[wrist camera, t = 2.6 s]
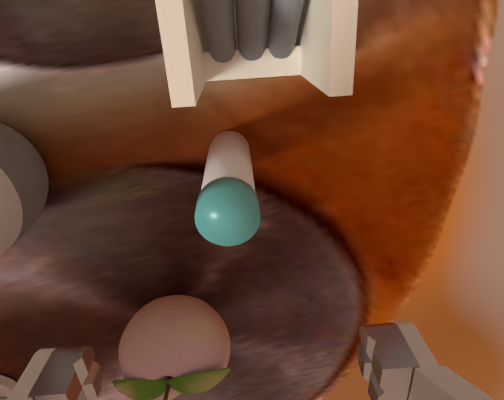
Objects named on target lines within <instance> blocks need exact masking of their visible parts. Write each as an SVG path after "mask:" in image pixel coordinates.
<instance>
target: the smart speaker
mask: <svg viewBox="0 0 504 400" xmlns="http://www.w3.org/2000/svg"><path fill="white" fill-rule="evenodd" d="M48 189H49V180H48V174H47V170H46V167H45V164H44V162H43V160H42V158H41V156H40V154H39V153H38V151H37V150H36V149H35V147H34V146H33V145H32V144H31V143H30V142H29V141H28V140H27V139H26V138H25V137H24V136H22V135H21V134H20V133H18V132H17V131H15V130H14V129H12V128H10V127H8V126H6V125H4V124H2V123H0V255H1V254H2V253H3V252H5V251H6V250H7V249H8V248H9V247H11V246H12V245H13V244H14V243H15V242H16V241H17V240H18V239H19V238H20V237H21V236H22V235H23V234H25V233H26V231H27V230H28V229H29V228H30V227H31V226H32V225H33V224H34V222H35V221H36V220H37V218H38V217H39V215H40V214H41V212H42V210H43V208H44V205H45V203H46V200H47V196H48Z"/></svg>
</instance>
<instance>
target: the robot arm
mask: <svg viewBox="0 0 504 400" xmlns="http://www.w3.org/2000/svg"><path fill="white" fill-rule="evenodd" d="M359 335H360V338H361V340H362V342H361V343H360V344H359V345H358V361H359V366H360V370H361V373H362V376H363V378H364V379H365V380H366V381H368V382H369V388H368V393H369V396H370V398H371V400H494V399H492V398H491V397H490V396H488V395H487V394H485V393H484V392H482V391H481V390H479V389H478V388H476V387H475V386H473V385H472V384H470V383H469V382H467V381H466V380H465V379H463V378H462V377H460V376H459V375H457V374H456V373H454V372H453V371H451V370H450V369H448V368H447V367H445V366H439V365H438V363H437V361H436V360H435V358H434V356H433V355H432V353H431V351H430V350H429V348H428V346H427V345H426V343H425V341H424V340H423V338H422V336H421V335H420V333H419V331H418V330H417V328H416V326H415V325H414V323H412V322H411V321H408V322H395V323H382V324H371V325H361V327H360V332H359ZM95 355H96V354H95V351H94V349H93V347H91V346H82V347H62V348H47V349H39V350H38V351H37V352H36V353H35V354H34V355H33V357H32V359H31V360H30V362H29V364H28V365H27V367H26V369H25V370H24V372H23V374H22V375H21V377H20V379H19V380H18V382H17V383H16V382H15V381H14V380H12V379H10V378H8V377H5V376H2V375H0V400H96V399H97V398H98V396H99V393H100V390H101V384H102V371H101V368H100V365H99V364H98V363H96V362H95V361H93V360H94V358H95Z"/></svg>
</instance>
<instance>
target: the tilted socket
mask: <svg viewBox="0 0 504 400" xmlns="http://www.w3.org/2000/svg"><path fill="white" fill-rule="evenodd" d="M155 3H156V10H157V16H158V23H159V29H160V35H161V42H162V48H163V55H164V61H165V68H166V74H167V81H168V87H169V93H170V100H171V106H172V108H177V107H191V106H196V104H197V102H198V100H199V97H200V95H201V93H202V90H203V88H204V86H205V83H206V81H218V80H232V79H247V78H261V77H276V76H290V75H301V76H303V77H304V78H305V79H307V80H308V81H309V82H310V83H312V84H313V85H314V86H316V87H317V88H318V89H319V90H321V91H322V92H323V93H325V94H326V95H327V96H329V97H334V96H348V95H353V81H354V65H355V48H356V32H357V16H358V0H155Z"/></svg>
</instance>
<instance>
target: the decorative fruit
mask: <svg viewBox="0 0 504 400" xmlns="http://www.w3.org/2000/svg"><path fill="white" fill-rule="evenodd" d="M118 355H119V362H120V367H121V371H122V374H123V377H124V379H125V380H115V381H113V382H112V383H113V384H114V386H115V388H116V389H117V390H118V391H119V392H120V393H122V394H123V395H125V396H127V397H129V398H131V399H134V400H172V399H174V398H175V397H176V396H178V395H179V394H180V393H181V394H199V393H202V392H205V391H207V390H209V389H211V388H213V387H214V386H215V385H217V384H218V383H219V382H220V381H222V380H223V379H224V377H225V376H226V375H227V374H228V372H229V371H230V370H231V368H226V367H227V365H228V362H229V357H230V336H229V333H228V330H227V327H226V325H225V323H224V321H223V320H222V318H221V317H220V315H219V314H218V313H217V312H216V311H215V310H214V309H213V308H212V307H211V306H210V305H209V304H207V303H206V302H204V301H203V300H201V299H198V298H195V297H192V296H186V295H170V296H165V297H161V298H158V299H155V300H153V301H151V302H149V303H147V304H146V305H144V306H143V307H142V308H141V309H140V310H139V311H138V312H137V313H136V314H135V315H134V316H133V317H132V319H131V320H130V321H129V323H128V324H127V326H126V328H125V330H124V332H123V334H122V337H121V340H120V343H119V350H118Z"/></svg>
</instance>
